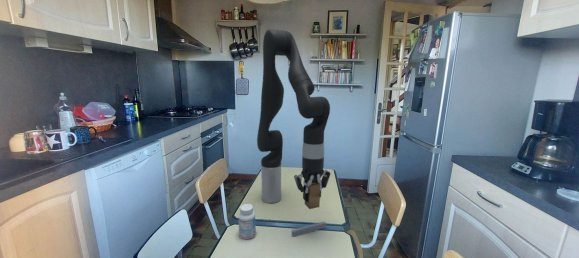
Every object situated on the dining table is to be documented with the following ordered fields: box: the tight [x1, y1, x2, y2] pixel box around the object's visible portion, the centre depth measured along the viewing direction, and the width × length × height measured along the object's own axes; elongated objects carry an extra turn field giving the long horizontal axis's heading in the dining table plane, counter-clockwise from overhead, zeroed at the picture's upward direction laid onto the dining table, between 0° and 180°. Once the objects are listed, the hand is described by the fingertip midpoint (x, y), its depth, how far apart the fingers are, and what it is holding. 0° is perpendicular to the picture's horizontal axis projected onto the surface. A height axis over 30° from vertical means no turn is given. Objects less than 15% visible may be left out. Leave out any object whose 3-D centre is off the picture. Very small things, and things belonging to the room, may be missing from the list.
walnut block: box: [304, 182, 321, 210], centre depth 88 cm, size 4×4×9 cm
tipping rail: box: [291, 221, 327, 237], centre depth 92 cm, size 1×14×2 cm, turn 113°
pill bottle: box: [238, 203, 257, 240], centre depth 89 cm, size 6×6×11 cm
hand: (311, 199), depth 88 cm, fingers closed on walnut block, 4 cm apart
